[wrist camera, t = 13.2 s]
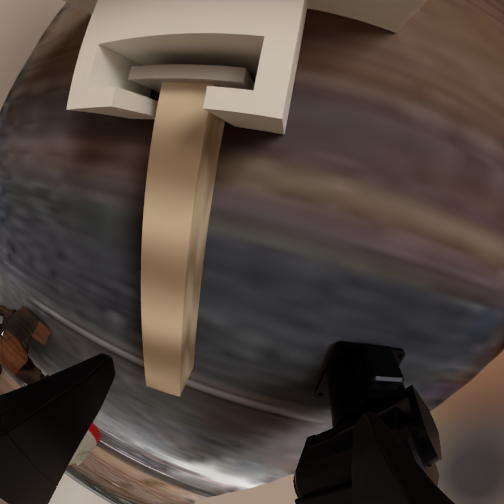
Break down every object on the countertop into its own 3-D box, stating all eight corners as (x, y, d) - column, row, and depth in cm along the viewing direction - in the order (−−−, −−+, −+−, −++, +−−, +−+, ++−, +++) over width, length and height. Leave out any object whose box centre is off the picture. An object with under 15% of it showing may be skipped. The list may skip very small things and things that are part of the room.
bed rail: (211, 371, 24) (196, 411, 19) (146, 352, 24) (123, 386, 19) (257, 91, 16) (246, 68, 11) (166, 84, 16) (131, 66, 11)
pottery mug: (71, 345, 26) (42, 399, 21) (63, 342, 33) (39, 385, 27) (-1, 279, 21) (-34, 333, 16) (5, 290, 28) (-21, 333, 22)
